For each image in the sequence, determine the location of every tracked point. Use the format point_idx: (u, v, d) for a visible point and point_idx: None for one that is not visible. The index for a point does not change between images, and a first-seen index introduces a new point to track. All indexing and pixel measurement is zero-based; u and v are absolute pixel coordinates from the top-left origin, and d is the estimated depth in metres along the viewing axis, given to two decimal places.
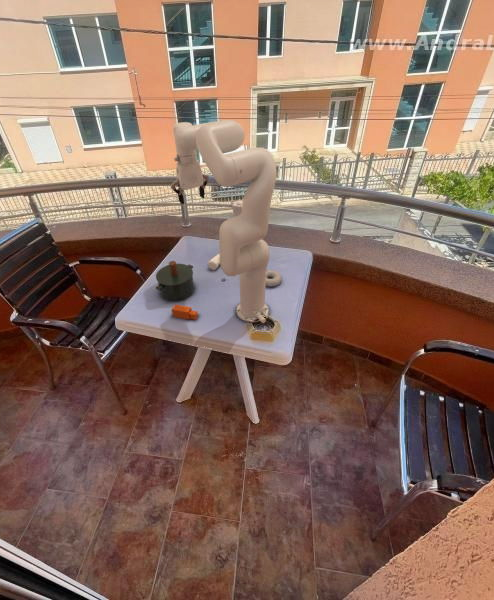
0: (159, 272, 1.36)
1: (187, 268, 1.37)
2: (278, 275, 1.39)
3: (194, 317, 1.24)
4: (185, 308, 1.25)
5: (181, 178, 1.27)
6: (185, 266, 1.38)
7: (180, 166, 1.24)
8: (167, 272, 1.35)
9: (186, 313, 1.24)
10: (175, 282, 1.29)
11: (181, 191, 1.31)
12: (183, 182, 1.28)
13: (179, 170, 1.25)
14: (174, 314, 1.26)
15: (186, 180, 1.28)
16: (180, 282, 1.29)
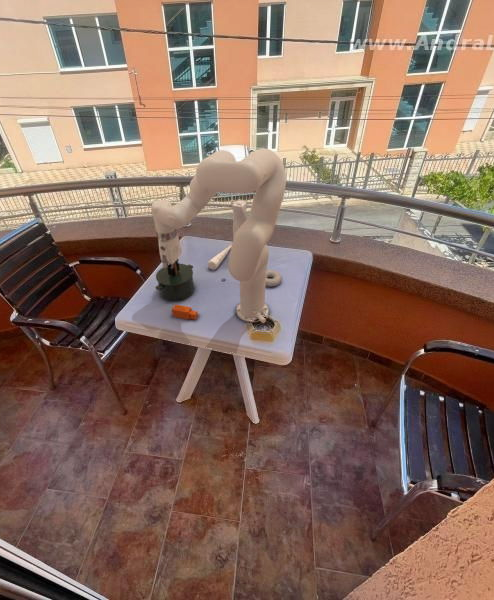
0: (159, 272, 1.36)
1: (187, 268, 1.37)
2: (278, 275, 1.39)
3: (194, 317, 1.24)
4: (185, 308, 1.25)
5: (170, 254, 1.22)
6: (185, 266, 1.38)
7: (167, 243, 1.20)
8: (167, 272, 1.35)
9: (186, 313, 1.24)
10: (175, 282, 1.29)
11: None
12: (171, 257, 1.24)
13: (166, 247, 1.20)
14: (174, 314, 1.26)
15: (173, 254, 1.24)
16: (180, 282, 1.29)
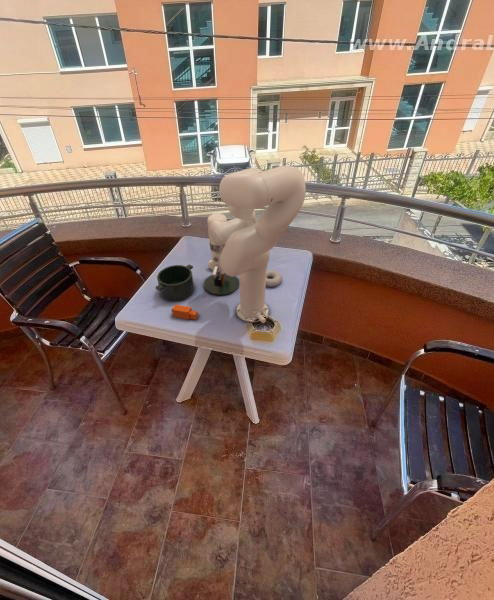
0: (206, 281, 1.42)
1: (233, 277, 1.43)
2: (278, 275, 1.39)
3: (194, 317, 1.24)
4: (185, 308, 1.25)
5: None
6: None
7: (220, 254, 1.26)
8: None
9: (186, 313, 1.24)
10: (224, 291, 1.36)
11: (220, 276, 1.32)
12: None
13: (219, 258, 1.26)
14: (174, 314, 1.26)
15: None
16: (228, 291, 1.36)
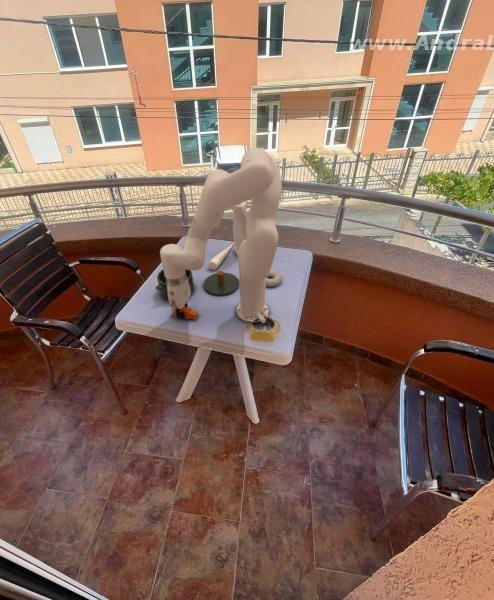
0: (206, 281, 1.42)
1: (233, 277, 1.43)
2: (278, 275, 1.39)
3: (194, 317, 1.24)
4: (185, 308, 1.25)
5: (179, 299, 1.15)
6: (230, 275, 1.44)
7: (176, 288, 1.13)
8: (214, 281, 1.42)
9: (186, 313, 1.24)
10: (224, 291, 1.36)
11: None
12: (181, 302, 1.17)
13: (175, 292, 1.14)
14: (174, 314, 1.26)
15: (182, 298, 1.17)
16: (228, 291, 1.36)
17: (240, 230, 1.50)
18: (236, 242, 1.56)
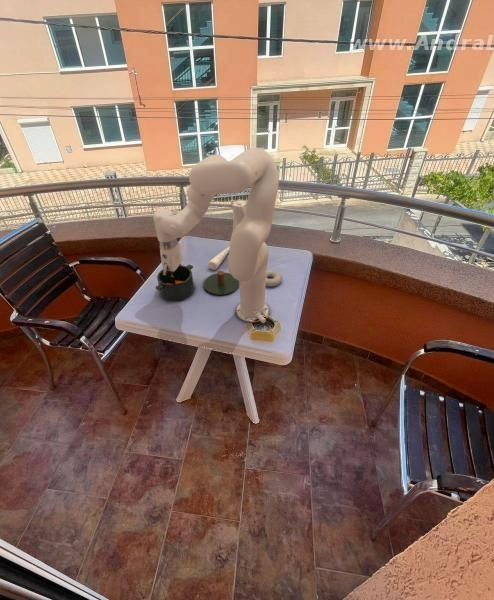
0: (206, 281, 1.42)
1: (233, 277, 1.43)
2: (278, 275, 1.39)
3: None
4: None
5: (171, 262, 1.24)
6: (230, 275, 1.44)
7: (169, 251, 1.22)
8: (214, 281, 1.42)
9: None
10: (224, 291, 1.36)
11: (172, 273, 1.30)
12: (173, 264, 1.26)
13: (168, 255, 1.23)
14: None
15: (174, 262, 1.26)
16: (228, 291, 1.36)
17: None
18: None
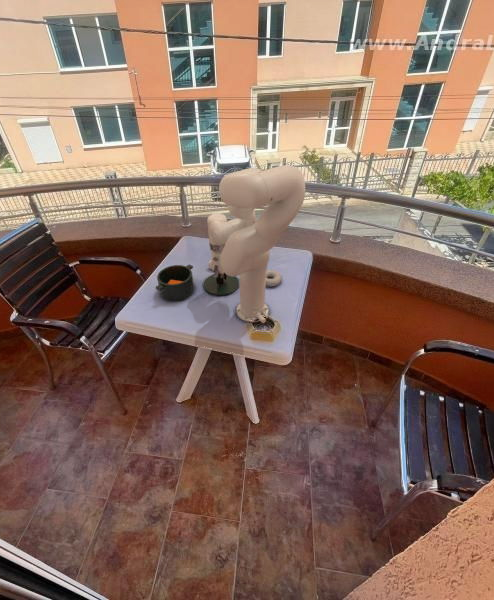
0: (206, 281, 1.42)
1: (232, 277, 1.43)
2: (278, 275, 1.39)
3: None
4: None
5: None
6: None
7: (220, 254, 1.26)
8: (214, 281, 1.42)
9: None
10: (223, 291, 1.36)
11: (222, 274, 1.35)
12: None
13: (219, 258, 1.26)
14: None
15: None
16: (228, 291, 1.36)
17: None
18: None
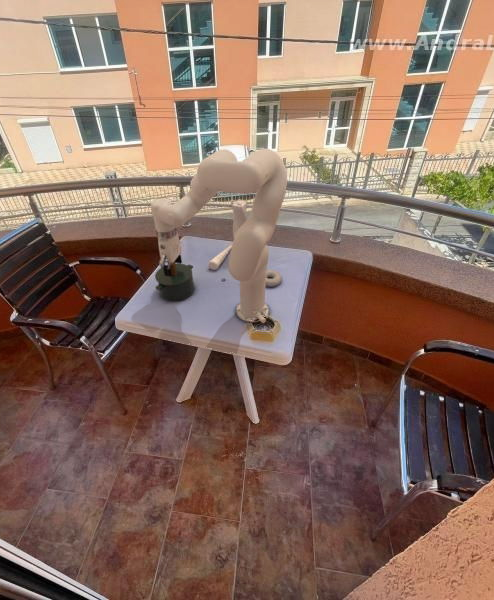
0: (158, 272, 1.36)
1: (186, 268, 1.37)
2: (278, 275, 1.39)
3: None
4: None
5: (169, 253, 1.22)
6: (184, 266, 1.38)
7: (167, 242, 1.19)
8: None
9: None
10: (174, 282, 1.30)
11: (169, 265, 1.25)
12: (171, 256, 1.23)
13: (166, 246, 1.20)
14: None
15: (173, 253, 1.24)
16: (179, 282, 1.29)
17: None
18: None
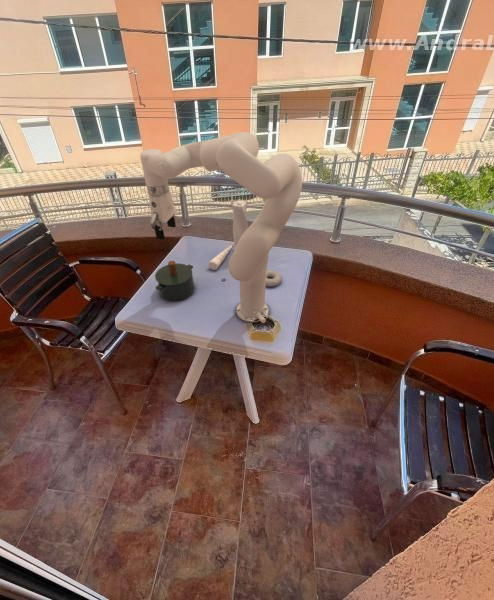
0: (158, 272, 1.36)
1: (186, 268, 1.37)
2: (278, 275, 1.39)
3: None
4: None
5: (161, 211, 1.11)
6: (184, 266, 1.38)
7: (158, 198, 1.08)
8: (166, 272, 1.35)
9: None
10: (174, 282, 1.30)
11: (161, 226, 1.14)
12: (163, 215, 1.12)
13: (157, 203, 1.09)
14: None
15: (165, 212, 1.13)
16: (179, 282, 1.29)
17: (240, 230, 1.50)
18: (236, 242, 1.56)
